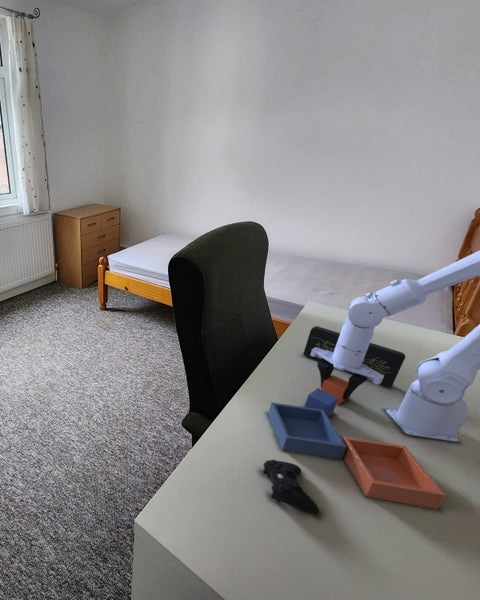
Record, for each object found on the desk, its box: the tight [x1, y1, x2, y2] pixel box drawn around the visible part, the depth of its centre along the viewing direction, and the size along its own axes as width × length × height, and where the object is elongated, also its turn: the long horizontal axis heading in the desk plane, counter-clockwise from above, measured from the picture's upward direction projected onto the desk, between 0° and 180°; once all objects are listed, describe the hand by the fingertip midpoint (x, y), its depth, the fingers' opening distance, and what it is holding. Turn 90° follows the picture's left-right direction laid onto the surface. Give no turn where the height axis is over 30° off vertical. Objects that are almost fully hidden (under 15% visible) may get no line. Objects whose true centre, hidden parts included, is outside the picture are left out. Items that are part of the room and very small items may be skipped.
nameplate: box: [302, 325, 406, 388], centre depth 95 cm, size 21×2×10 cm, turn 41°
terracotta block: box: [320, 374, 349, 405], centre depth 85 cm, size 4×4×4 cm
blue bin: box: [267, 402, 346, 460], centre depth 74 cm, size 11×11×4 cm
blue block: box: [303, 388, 338, 418], centre depth 80 cm, size 4×4×4 cm
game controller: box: [262, 459, 320, 515], centre depth 62 cm, size 10×5×7 cm
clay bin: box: [341, 436, 447, 510], centre depth 64 cm, size 11×11×4 cm
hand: (334, 392), depth 86 cm, fingers closed on terracotta block, 4 cm apart
